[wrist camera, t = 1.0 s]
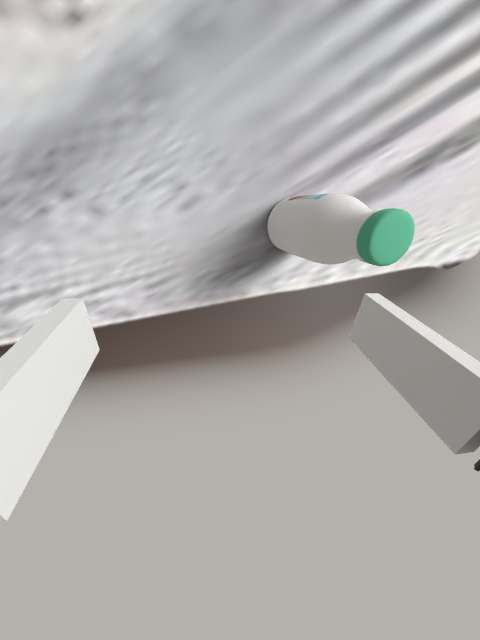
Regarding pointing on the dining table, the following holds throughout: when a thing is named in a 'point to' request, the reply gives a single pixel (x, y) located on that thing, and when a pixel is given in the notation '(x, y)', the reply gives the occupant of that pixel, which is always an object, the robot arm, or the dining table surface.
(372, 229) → the milk bottle
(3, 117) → the dining table surface
